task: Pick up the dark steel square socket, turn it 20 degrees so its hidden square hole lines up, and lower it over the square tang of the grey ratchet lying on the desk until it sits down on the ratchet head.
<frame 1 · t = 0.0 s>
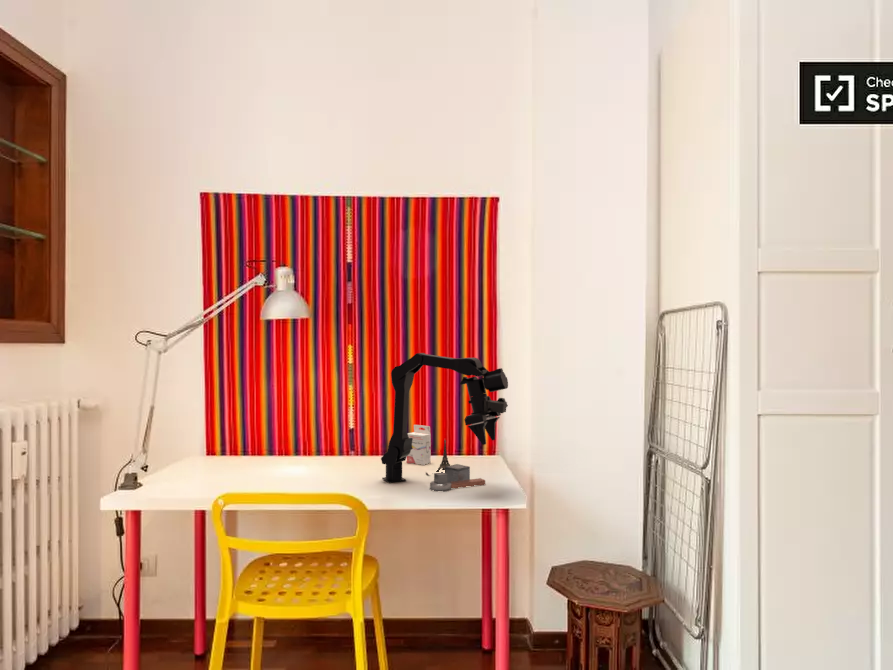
hand: (489, 442, 203), 15 cm above the table, tool pointing down, fingers open, 9 cm apart
eiffel tower figurine: (445, 474, 230), on the table
ratchet: (440, 489, 205), on the table
socket: (457, 481, 216), on the table
ink cartridge box: (418, 463, 246), on the table
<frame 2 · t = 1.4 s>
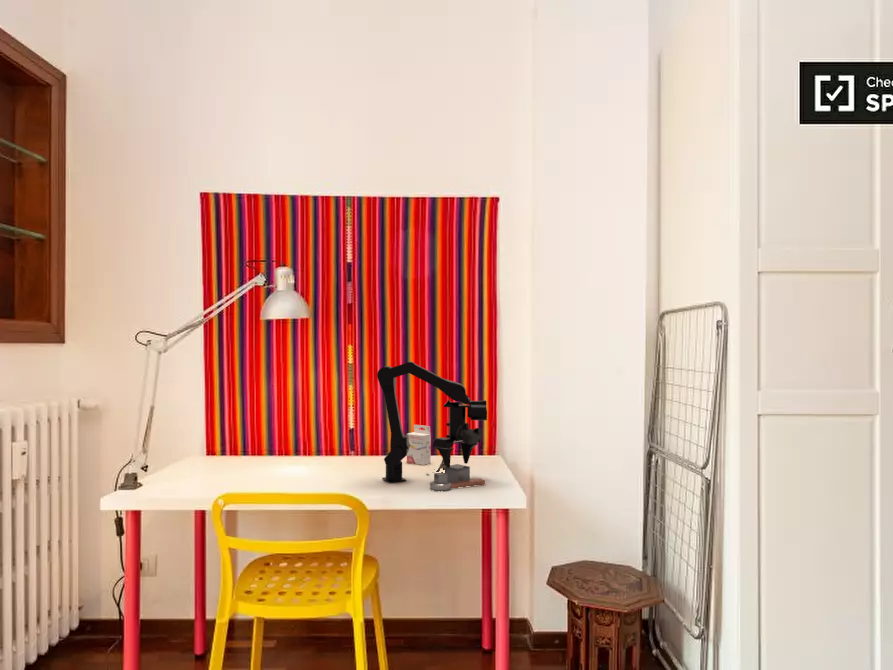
hand: (457, 465, 216), 5 cm above the table, tool pointing down, fingers open, 9 cm apart
nothing on the table moved.
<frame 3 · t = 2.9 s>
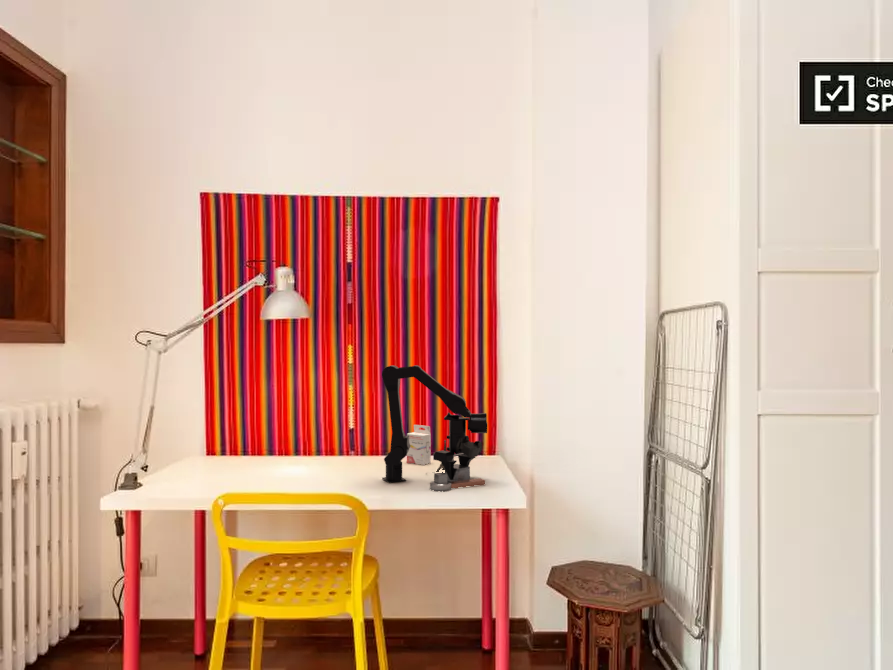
hand: (457, 478, 216), 1 cm above the table, tool pointing down, fingers closed on socket, 6 cm apart
socket: (457, 481, 216), on the table, touching gripper
everything else where it was.
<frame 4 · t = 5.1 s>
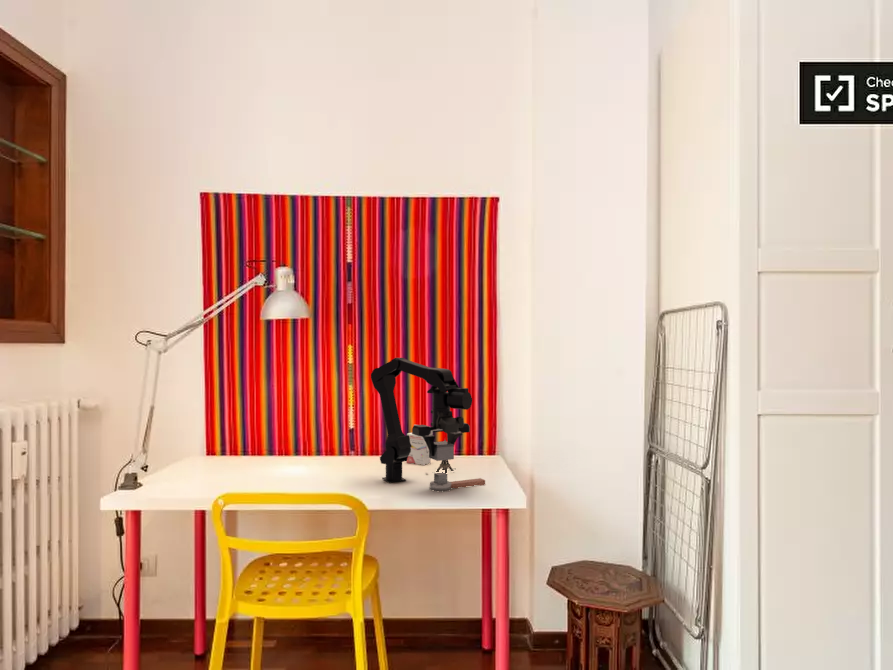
hand: (441, 455, 205), 11 cm above the table, tool pointing down, fingers closed on socket, 6 cm apart
socket: (441, 458, 205), point 10 cm above the table, touching gripper
everything else where it was.
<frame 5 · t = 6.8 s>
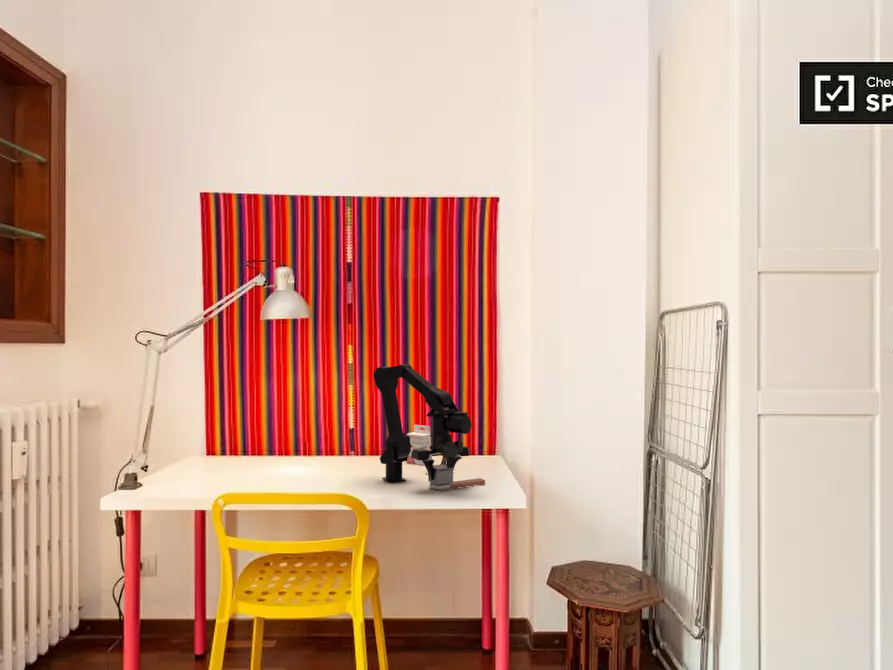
hand: (440, 478, 205), 3 cm above the table, tool pointing down, fingers closed on socket, 6 cm apart
socket: (440, 482, 205), point 2 cm above the table, touching gripper
everything else where it was.
when the fingers open (3 cm above the table, at t = 7.7 s): socket stays where it is, resting on ratchet.
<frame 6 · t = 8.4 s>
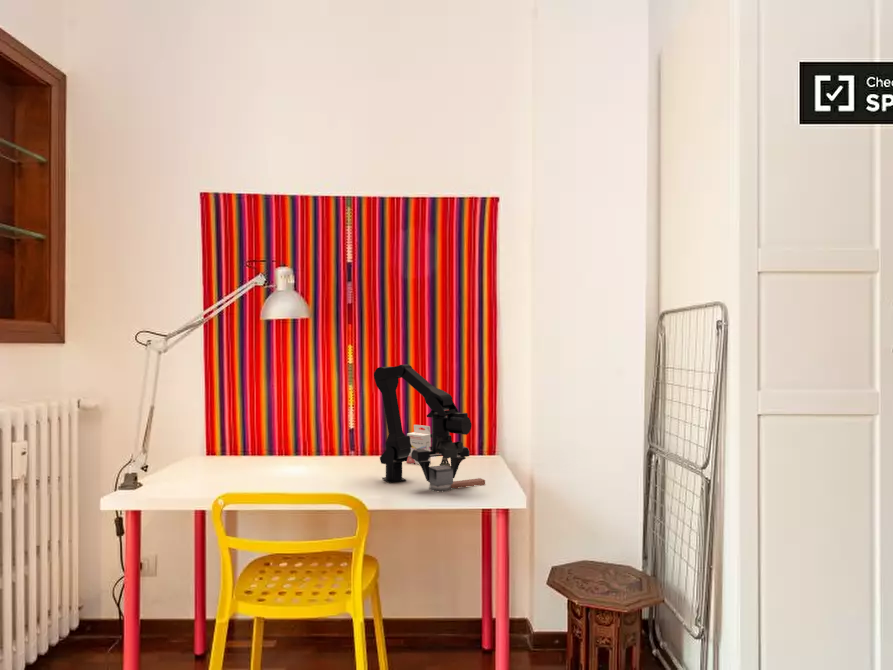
hand: (440, 479, 205), 3 cm above the table, tool pointing down, fingers open, 9 cm apart
ratchet: (440, 489, 205), on the table, touching socket
socket: (440, 482, 205), point 2 cm above the table, touching ratchet
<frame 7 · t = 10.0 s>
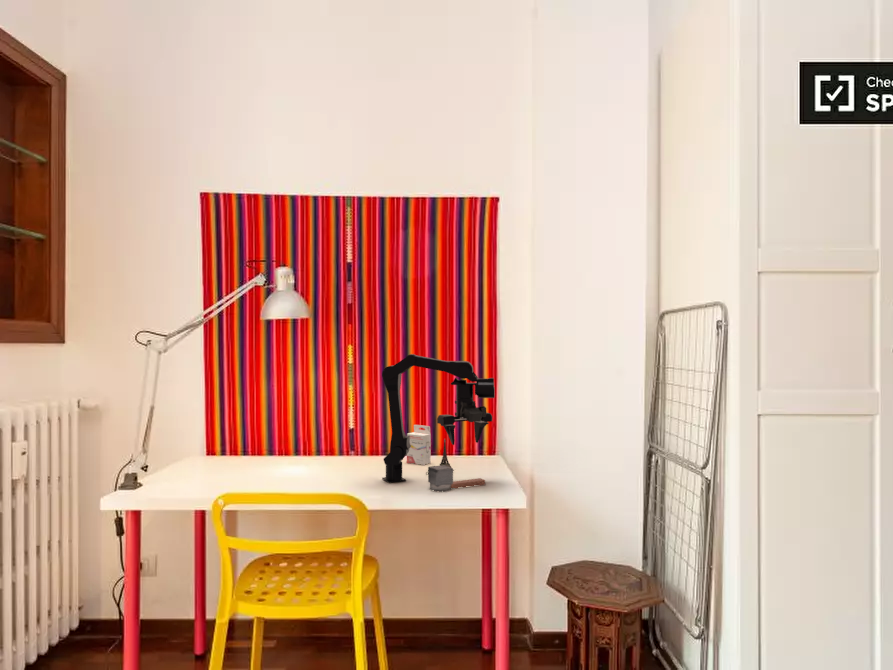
hand: (465, 443, 214), 13 cm above the table, tool pointing down, fingers open, 9 cm apart
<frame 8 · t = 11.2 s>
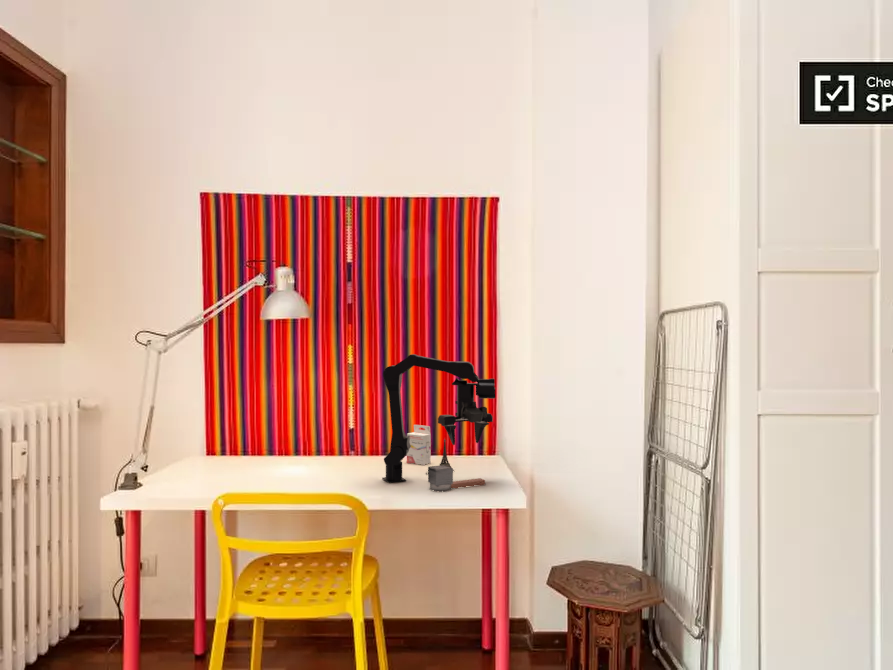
hand: (465, 443, 215), 13 cm above the table, tool pointing down, fingers open, 9 cm apart
at the end: socket 0.1 cm off-centre on the ratchet, point 2.0 cm above the ratchet's base; socket tilted 0°; the gripper is holding nothing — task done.
